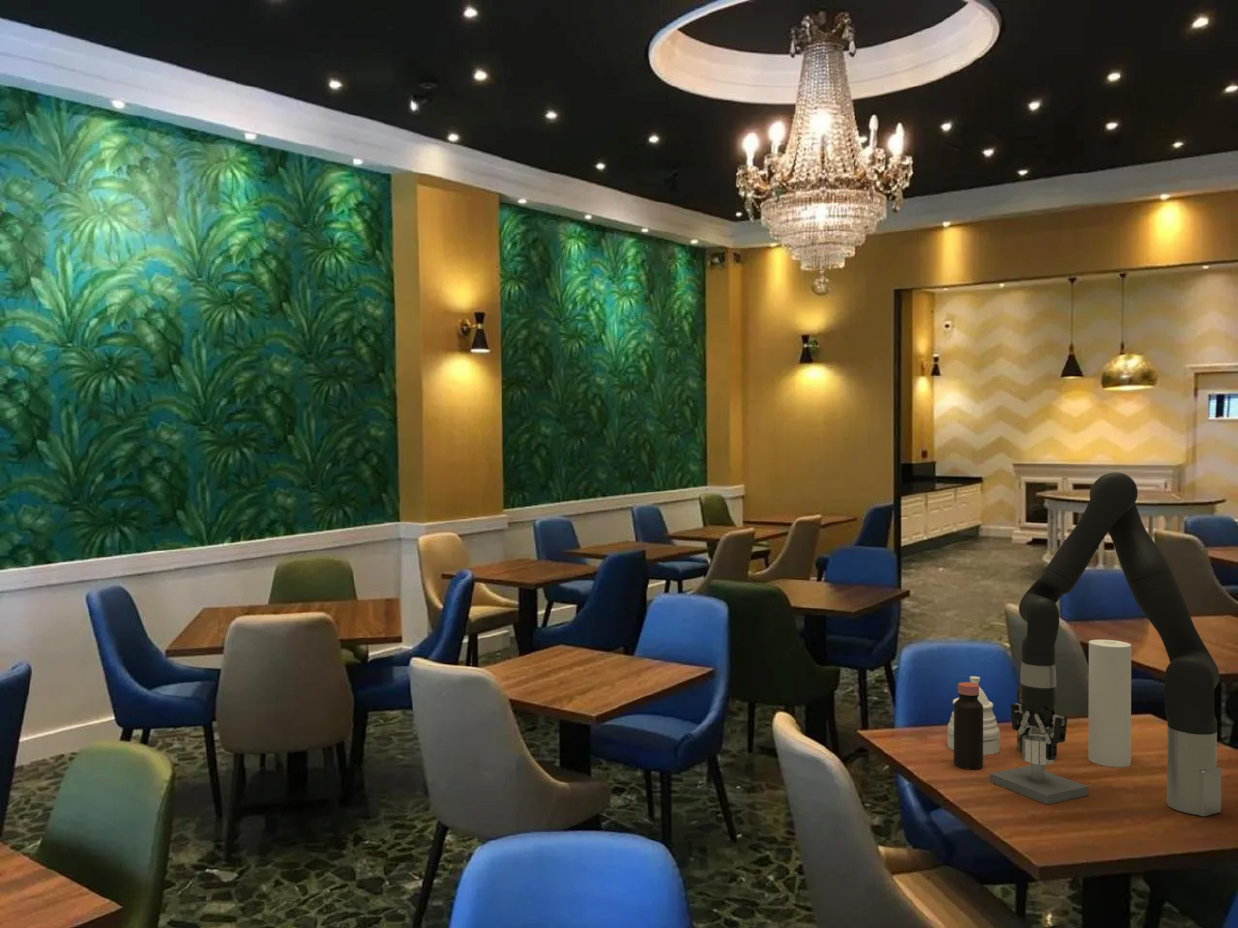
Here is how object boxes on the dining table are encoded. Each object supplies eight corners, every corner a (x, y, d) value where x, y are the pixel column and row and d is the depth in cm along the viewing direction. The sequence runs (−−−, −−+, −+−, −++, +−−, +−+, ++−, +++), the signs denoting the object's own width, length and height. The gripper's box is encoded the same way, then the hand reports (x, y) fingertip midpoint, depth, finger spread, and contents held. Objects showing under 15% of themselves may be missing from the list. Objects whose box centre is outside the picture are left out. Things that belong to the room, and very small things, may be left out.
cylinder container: (1105, 752, 244) (1105, 636, 244) (1139, 763, 236) (1139, 642, 235) (1079, 758, 240) (1080, 639, 240) (1113, 769, 232) (1113, 646, 231)
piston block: (1087, 795, 214) (1088, 744, 214) (1046, 804, 209) (1047, 752, 208) (1029, 773, 229) (1029, 725, 228) (989, 781, 223) (989, 732, 223)
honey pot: (952, 737, 258) (952, 671, 258) (1003, 744, 251) (1003, 676, 251) (942, 750, 247) (942, 681, 247) (995, 758, 240) (995, 687, 240)
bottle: (989, 766, 234) (989, 685, 233) (970, 771, 230) (970, 688, 230) (966, 758, 240) (966, 679, 239) (947, 763, 236) (948, 683, 236)
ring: (1059, 762, 217) (1059, 740, 217) (1039, 766, 214) (1039, 743, 214) (1036, 754, 223) (1036, 732, 223) (1016, 757, 220) (1016, 736, 220)
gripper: (1076, 687, 213) (1076, 761, 214) (1024, 674, 226) (1024, 744, 227) (1053, 691, 210) (1052, 766, 210) (1001, 677, 223) (1001, 748, 223)
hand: (1037, 754), depth 219 cm, fingers closed on ring, 6 cm apart
